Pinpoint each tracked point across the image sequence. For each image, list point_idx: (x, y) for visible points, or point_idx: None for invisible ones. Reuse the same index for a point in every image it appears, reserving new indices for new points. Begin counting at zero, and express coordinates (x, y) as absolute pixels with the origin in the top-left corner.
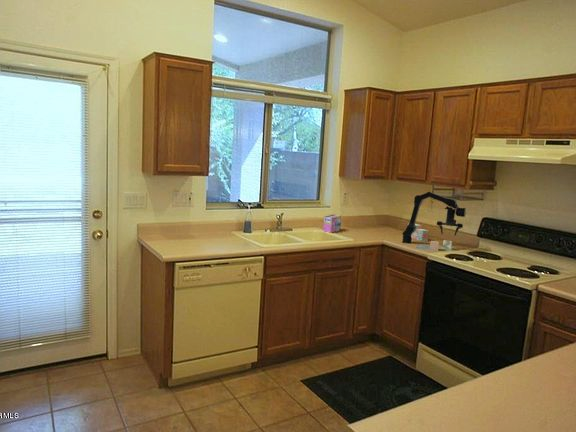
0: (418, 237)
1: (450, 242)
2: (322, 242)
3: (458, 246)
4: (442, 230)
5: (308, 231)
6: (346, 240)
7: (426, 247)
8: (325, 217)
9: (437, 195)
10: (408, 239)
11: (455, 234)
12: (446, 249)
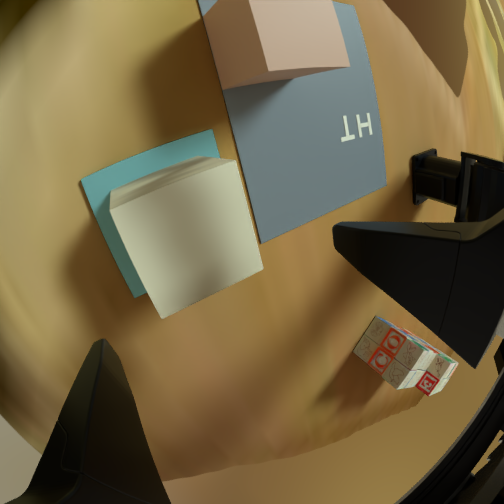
0: (398, 328)
1: (125, 202)
2: None
3: (172, 422)
4: (411, 236)
5: None
6: (480, 39)
7: (324, 96)
8: None
9: None
10: (438, 163)
11: (85, 368)
12: (151, 162)
